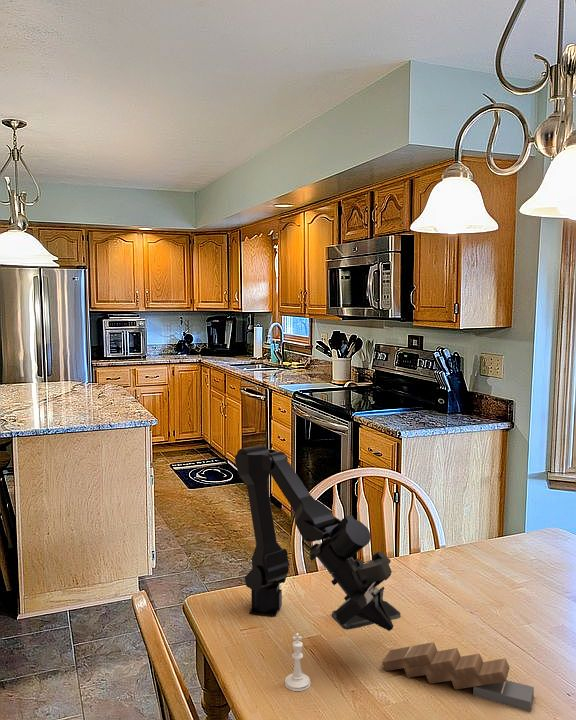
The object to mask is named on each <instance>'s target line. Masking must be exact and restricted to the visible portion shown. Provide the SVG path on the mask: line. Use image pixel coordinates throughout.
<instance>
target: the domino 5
mask: <svg viewBox="0 0 576 720" xmlns="http://www.w3.org/2000/svg"><path fill="white" fill-rule="evenodd" d="M472 688H473V690H472V691H473V692H472V693H473V695H472V696H473V697H477V698H479V699H483V700H487V701H490V702H494V703H498V704H502V705H504V706H509V707H512V708H516V709H519V710H523V711H525V712H526V711H527V712H531V710H532V705H533V701H534V691H535V687H534V686H531V685H527V684H524V683H520V682H515V681H512V680H506V682H499V683H493V684H487V685H480V686H474V687H472Z"/></svg>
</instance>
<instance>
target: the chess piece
mask: <svg viewBox="0 0 576 720" xmlns="http://www.w3.org/2000/svg"><path fill="white" fill-rule="evenodd" d="M292 640H293V642H292V648H293V650H294V652H293V653H292V655H291V657H292V658H293V660H294V665H293V666H294V667H293V672H292V673H291V674H288V675H287V676H286V678H285V682H284V685H285V687H286V688H287V689H288V690H289V691H293V692H301V691H305V690H308V689H309V688H310V686H311V679H310V677H309V676H308V675H307V674H305V673H303V672H302V665H301V659H303V658H304V655H303V653H302V648H303V645H304V643H303V642H302V641H300V640H303V637H302V635H299V632H297V633H295V636H292Z"/></svg>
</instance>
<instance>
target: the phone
mask: <svg viewBox="0 0 576 720" xmlns="http://www.w3.org/2000/svg"><path fill="white" fill-rule="evenodd" d="M383 602H384V604H385V607H386V609H387V612H388V614H389V617H390V619H391V621H392V620H398V619H400V618H401V612H400V611H399V610H398V609H396V608H395V607H394V606H393V605H392V604H390V602H388V601H386V600H383ZM336 610H337V609H335V610H333V611H332V612H331V617H332V618H333V619H334V620H335V621H336V622H337V623H338V621H337V620H336V619H335V611H336ZM370 625H374V623H372V622H370V621H368V620H366V619H364V618H361V617H359V616H356V617H355V616H353V617H352V618H351V619H350V620H348V621H347V622H346V623H344V624H343V625H342V626H341V627H342V629H345V630H352V629H353V630H354V629H358V628H361V627H365V626H370Z"/></svg>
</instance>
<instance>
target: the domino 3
mask: <svg viewBox="0 0 576 720" xmlns="http://www.w3.org/2000/svg"><path fill="white" fill-rule="evenodd" d="M483 662H484V661H483V659H482V655H481V653H475V654H469V655H463V656H461V658H460V660H459V662H458V664H457V666H456V669H455V670H452V671H446V672H439V673H433V674H427V675H425V676H426V679H427V682H428V684H436V683H442V682H449V681H451V680H457V679H463V678H470V677H476V676H479V673H480V671H481V668H482V665H483Z"/></svg>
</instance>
